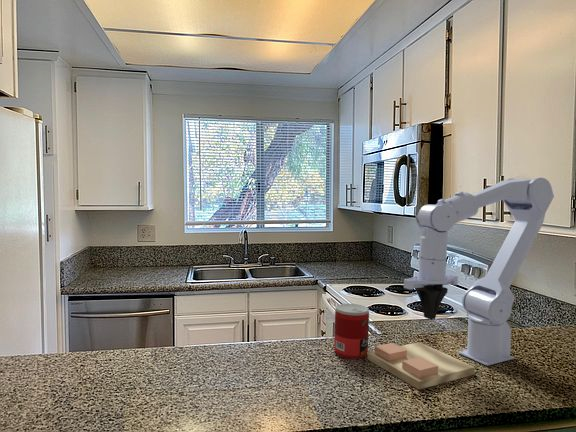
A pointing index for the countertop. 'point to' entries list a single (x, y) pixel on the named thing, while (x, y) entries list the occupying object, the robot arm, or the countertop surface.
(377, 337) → the countertop surface
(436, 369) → the tile
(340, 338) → the canned food
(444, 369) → the board
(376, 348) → the tile
